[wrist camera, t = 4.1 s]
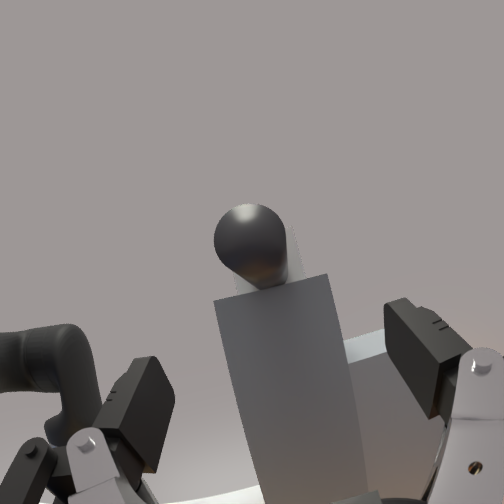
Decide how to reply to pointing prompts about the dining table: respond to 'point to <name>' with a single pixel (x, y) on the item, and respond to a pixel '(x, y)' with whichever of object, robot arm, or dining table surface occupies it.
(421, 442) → the stepped stand
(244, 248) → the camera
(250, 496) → the dining table surface
